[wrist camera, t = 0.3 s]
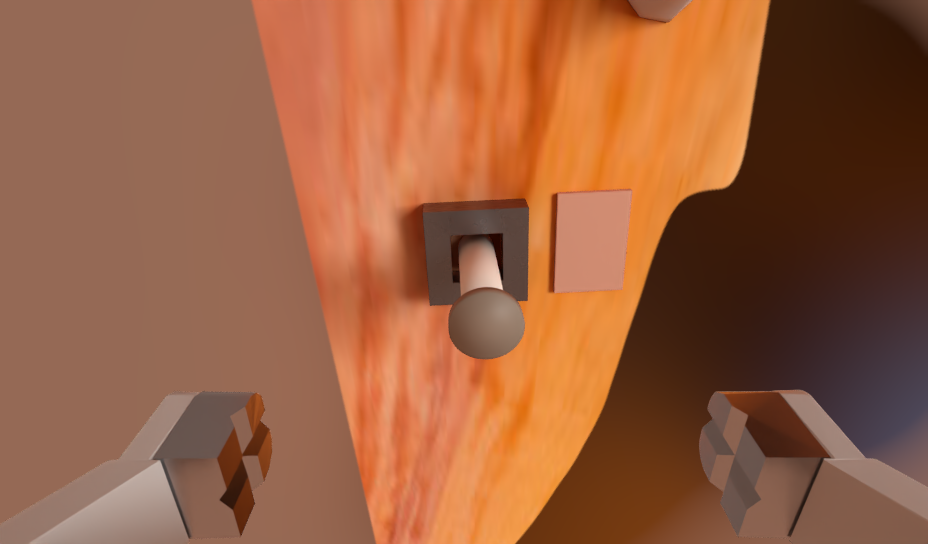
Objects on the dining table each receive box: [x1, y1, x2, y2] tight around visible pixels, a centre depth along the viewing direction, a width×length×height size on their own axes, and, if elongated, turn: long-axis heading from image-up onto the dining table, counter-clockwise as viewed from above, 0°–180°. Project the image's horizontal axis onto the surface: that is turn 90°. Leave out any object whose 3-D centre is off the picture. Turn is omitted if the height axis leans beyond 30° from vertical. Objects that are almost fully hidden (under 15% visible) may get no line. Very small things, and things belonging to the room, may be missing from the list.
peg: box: [448, 234, 525, 359], centre depth 52 cm, size 6×6×17 cm
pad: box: [553, 189, 632, 293], centre depth 60 cm, size 12×8×1 cm, turn 2°
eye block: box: [423, 199, 529, 306], centre depth 59 cm, size 11×11×3 cm
